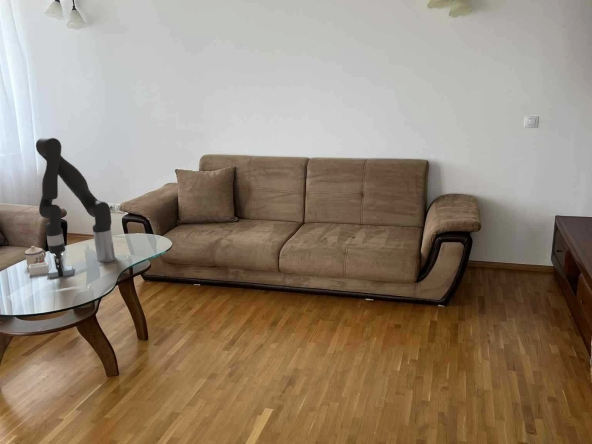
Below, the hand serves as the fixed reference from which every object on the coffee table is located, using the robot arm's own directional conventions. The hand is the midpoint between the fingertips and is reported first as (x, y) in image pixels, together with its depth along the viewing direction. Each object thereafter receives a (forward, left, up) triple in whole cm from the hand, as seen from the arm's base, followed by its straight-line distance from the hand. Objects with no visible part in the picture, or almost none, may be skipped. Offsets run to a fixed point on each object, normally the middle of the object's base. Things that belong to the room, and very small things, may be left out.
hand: (61, 273), depth 284 cm
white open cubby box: (+11, -8, -1) cm, 14 cm away
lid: (0, 0, 0) cm, 0 cm away
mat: (0, 0, -1) cm, 1 cm away
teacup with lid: (+13, -22, -2) cm, 26 cm away
